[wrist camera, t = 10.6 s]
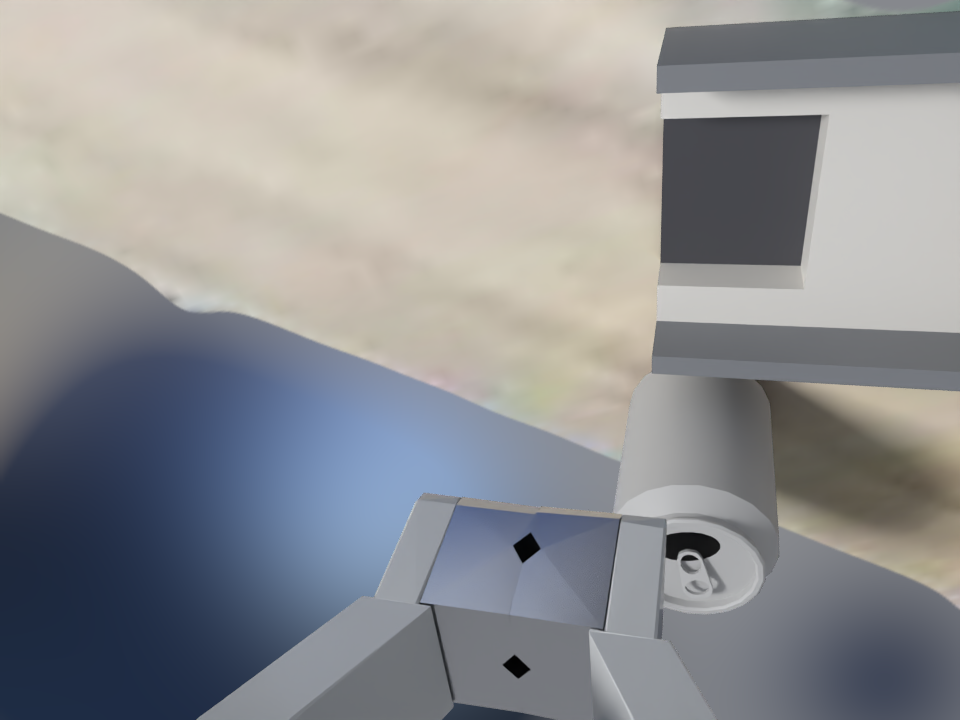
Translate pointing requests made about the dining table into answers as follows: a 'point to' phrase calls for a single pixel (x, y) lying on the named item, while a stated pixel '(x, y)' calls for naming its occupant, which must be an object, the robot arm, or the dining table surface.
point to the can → (704, 485)
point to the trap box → (812, 201)
